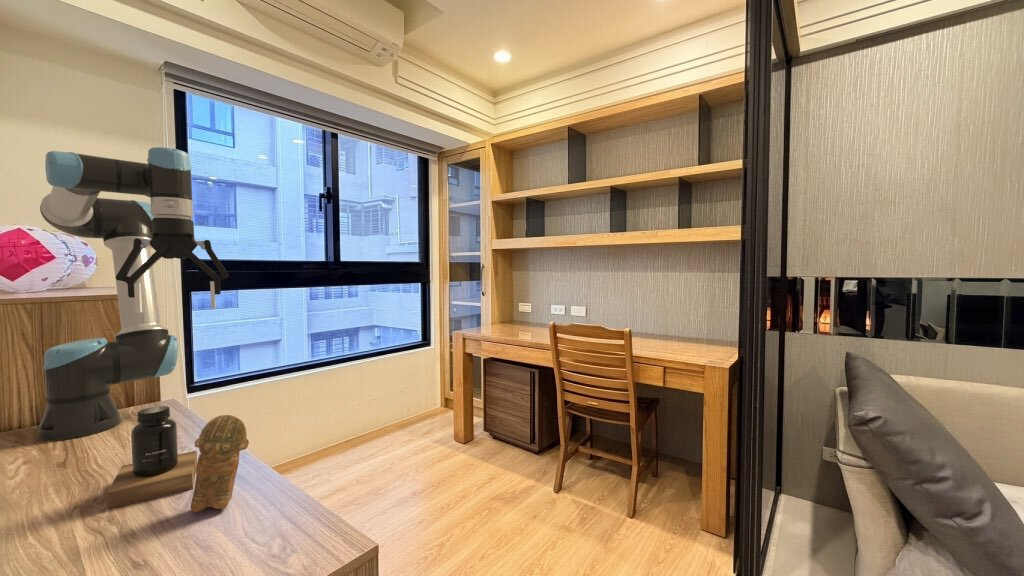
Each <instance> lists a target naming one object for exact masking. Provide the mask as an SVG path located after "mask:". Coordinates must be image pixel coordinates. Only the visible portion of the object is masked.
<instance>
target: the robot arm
mask: <svg viewBox="0 0 1024 576" xmlns="http://www.w3.org/2000/svg"><path fill="white" fill-rule="evenodd" d="M146 161H147V162H148V163H147V162H146V163H145V162H137V161H132V160H131V161H130V160H123V159H116V158H109V157H102V156H97V155H88V154H82V153H75V152H71V151H58V150H50V151H48V152H47V153H46V154H45V165H44V166H45V177H46V181H47V183H48V184H49V185H50V186H52V188H51V191H50V193H48V194H46V196H45V197H43V198H42V200H41V202H40V205H39V212H40V213H41V216H42V218H43V220H44V221H45V222H46V223H47V224H49V225H50V226H51V227H53V228H55V229H57V230H58V231H61V232H63V233H65V234H68V235H71V236H75V237H80V238H84V239H85V238H86V239H102V240H103V245H104V247H105V248H108V249H109V250H111V253H112V259H113V260H112V261H113V270H114V277H115V279H114V280H115V286H116V293H117V302H118V309H119V311H118V312H119V319H120V325H121V327H120V328H121V330H120V331H118V333H116V334H115V335H114V338H115V339H114V340H115V341H111V342H109V340H108V339H107V338H106V337H95V338H87V339H79V340H75V341H71V342H67V343H62V344H59V345H55V346H53V347H50V348H49V349H47V350H46V351H45V353H44V355H43V367H42V370H43V371H44V380H45V381H44V384H45V398H46V407H45V410H44V413H43V414H42V415H43V416H42V418H41V421H40V424H39V426H38V429H37V432H38V433H37V434H38V439H39V440H41V441H61V440H70V439H76V438H81V437H85V436H89V435H93V434H97V433H100V432H102V431H107V430H110V429H112V428H114V427H115V426H117V425H119V424H120V422H121V413H120V411H119V409H118V407H117V405H116V404H115V402H114V400H113V398H112V396H111V393H110V391H111V390H110V386H111V385H117V384H123V383H129V382H136V381H140V380H141V381H142V380H149V379H155V378H159V377H163V376H167V375H170V374H172V372H173V371H174V370H175V369H176V366H177V363H178V359H179V358H178V357H179V341H178V338H177V336H175V335H174V334H173V335H172V334H169V330H168V329H169V328H167V327H165V326H163V325H162V323H161V319H160V318H161V317H160V309H159V303H158V302H159V301H158V296H157V295H158V294H157V289H156V288H157V287H156V282H155V274H154V273H155V272H154V267H153V266H154V265H155V264H156V263H157V262H158V261H159V260H160V259H161V258H163V259H165V260H166V259H168V260H169V259H170V260H173V259H177V260H180V259H181V260H185V259H186V258H189V259H190V260H191V261H192V262H193V263H194V264H196V266H198V267H199V268H200V270H202V271H203V272H205V273H206V275H208V276H209V277H210V278H211V279H212V280H210V281H209V284H210V306H211V308H210V309H211V310H215V309H216V304H217V303H216V295H221V292H222V291H221V289H222V288H221V282H222V281H223V280H226V279H228V278H229V273H228V272H227V270H226V269H225V267H224V265H223V264H222V263H221V261H220V259H219V258H218V257H217V255H216V253H215V252H214V251H213V249H212V242H211V241H210V240H209V239H205V240H196V238H195V227H194V224H195V223H194V221H193V220H192V218H193V217H194V203H193V188H192V169H193V168H192V165H191V164H192V163H191V159H190V155H189V153H187V152H186V151H183V150H180V149H177V148H176V149H175V148H173V147H172V148H171V147H163V146H157V147H156V146H155V147H150V148H149V149H148V152H147V159H146ZM101 192H104V193H105V192H107V193H117V194H127V195H136V196H137V195H139V196H145V197H148V198H150V202H146V201H145V202H144V201H137V200H134V199H131V200H127V199H115V198H104V197H103V198H101V197H98V196H99V195H100V193H101ZM198 246H199V247H200V249H201V250H205V252H206V253H207V255H208V257H209V258H210V259H211V261H212V263H213V264H214V266H215V267H216V269H217V270H218V272H219V273H220V274H219V275H218V274H217V273H216V272H215V271H214V270H213V269H212V268H210V267H209V266H208V265H207V264H206V263H205V262H203V260H202V259H200V258H199V257H198V256H197V254H195V253H194V252H193V251H194V250H195V249H196V248H197V247H198ZM151 249H153V250H154V251H155V252H154V253H152V251H151Z"/></svg>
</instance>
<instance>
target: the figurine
mask: <svg viewBox="0 0 1024 576" xmlns="http://www.w3.org/2000/svg"><path fill="white" fill-rule="evenodd" d="M247 436H248V435H247V429H246V425H245V423H244V422H243V421H242V420H241V419H240V418H238V417H237V416H234V415H230V414H222V415H218V416H216V417H214V418H212V419H210V420H209V421H208V422H207V423H206V424H205V425H204V427H203V428H202V430H201V431H200V435H199V436H198V438H197V439H196V440H195V442H194V447H195V448H197V449H198V451H199V456H198V457H197V467H196V474H195V481H194V483H195V484H194V488H193V489H194V490H193V494H192V498H191V501H190V502H191V503H190V510H191V511H192V512H195V513H196V512H201V511H203V510H205V509H206V508H209V507H210V508H211V507H212V508H214V509H217V510H219V509H223V508H226V507H227V506H228V504H229V502H230V501H231V500H232V496H233V491H234V486H235V481H236V476H237V472H238V468H239V464H240V452H241V451H244V450H246V449H247V448H248V447H249V442H250V441H249V439H248V437H247Z"/></svg>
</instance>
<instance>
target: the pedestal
mask: <svg viewBox="0 0 1024 576" xmlns="http://www.w3.org/2000/svg"><path fill="white" fill-rule="evenodd" d="M197 452H198V451H197V450H194V451H188V452H184V453H178V463H177V465H176V466H175V467H174V468H173V469H171V470H169V471H167V472H164V473H162V474H158V475H154V476H148V477H138V476H135V475H134V474H133V466H132V463H129V464H125V465H124V464H123V465H121V467H120V469H119V471H118V472H117V474H116V476H115V478H114V480H113V481H112V483H111V484H110V487H109V489H108V490H107V492H106V494H107V495H106V496H107V497H106V499H107V509H108V510H110V509H113V508H117V507H121V506H126V505H131V504H134V503H138V502H139V503H140V502H143V501H147V500H151V499H155V498H159V497H163V496H168V495H172V494H176V493H181V492H184V491H188V490H192V489H194V486H195V484H194V483H195V480H196V467H197V462H198V457H197V454H198V453H197Z"/></svg>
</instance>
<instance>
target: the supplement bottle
mask: <svg viewBox="0 0 1024 576" xmlns="http://www.w3.org/2000/svg"><path fill="white" fill-rule="evenodd" d="M170 410H171V409H170V407H169V406H166V405H158V406H157V405H156V406H152V407H148V408H142V409H141V410H138V412H137V418H136V419H137V420H136V421H137V423H138V424H137V425H135V426H134V427H133V428H132V430H131V432H130V433H131V434H130V435H131V437H130V438H131V441H130V442H131V456H132V457H131V459H132V460H131V461H132V463H131V464H132V466H133V474H134V475H135V476H138V477H148V476H154V475H158V474H162V473H164V472H167V471H169V470H171V469H173V468H174V467H175V466H176V465H177V463H178V454H179V453H178V451H179V450H178V429H177V428H178V426H177V423H176V421H175V420H174V419H171V413H170Z"/></svg>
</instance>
